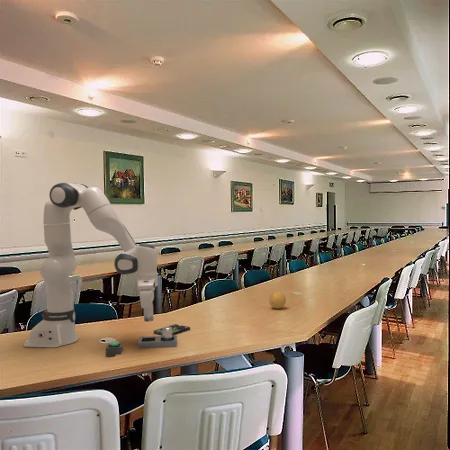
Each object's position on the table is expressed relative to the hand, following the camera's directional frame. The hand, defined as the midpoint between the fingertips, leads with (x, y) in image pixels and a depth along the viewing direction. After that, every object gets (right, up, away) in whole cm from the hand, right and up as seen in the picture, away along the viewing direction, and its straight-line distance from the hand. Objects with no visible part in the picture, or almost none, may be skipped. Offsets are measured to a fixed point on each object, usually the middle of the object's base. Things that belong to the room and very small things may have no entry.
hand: (148, 314), depth 185 cm
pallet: (+4, -14, +1) cm, 14 cm away
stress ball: (+63, -11, +68) cm, 94 cm away
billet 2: (+8, -13, +1) cm, 15 cm away
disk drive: (+8, -14, +20) cm, 26 cm away
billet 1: (0, -3, 0) cm, 3 cm away
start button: (-12, -11, -9) cm, 18 cm away
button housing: (-12, -14, -9) cm, 21 cm away
